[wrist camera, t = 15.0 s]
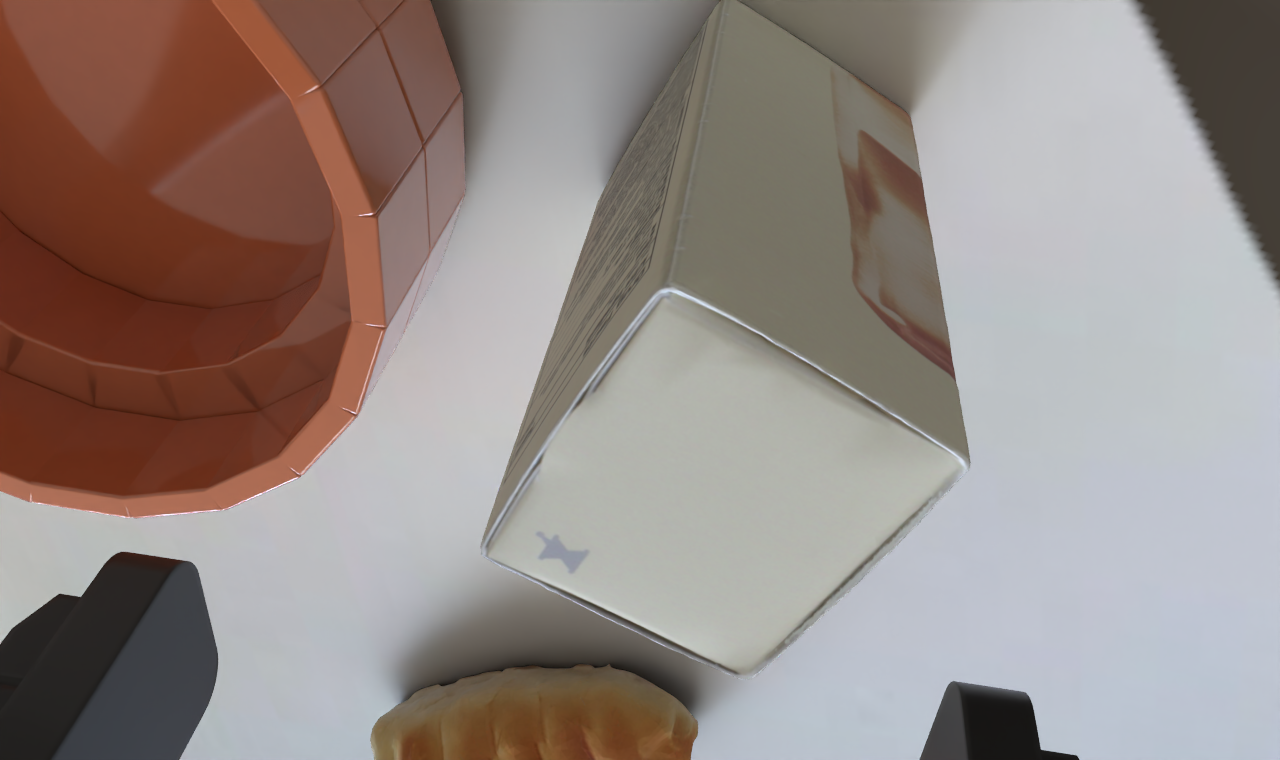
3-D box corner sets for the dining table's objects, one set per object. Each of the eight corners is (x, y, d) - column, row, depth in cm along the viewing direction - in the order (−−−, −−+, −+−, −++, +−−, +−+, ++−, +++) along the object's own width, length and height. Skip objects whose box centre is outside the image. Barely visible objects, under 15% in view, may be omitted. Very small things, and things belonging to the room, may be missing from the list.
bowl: (-56, 313, 27) (-229, 462, 23) (-296, -331, 19) (-636, -293, 15) (479, 392, 26) (405, 564, 22) (464, -252, 18) (343, -184, 14)
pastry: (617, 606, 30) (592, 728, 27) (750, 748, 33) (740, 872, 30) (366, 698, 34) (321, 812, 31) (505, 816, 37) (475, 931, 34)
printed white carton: (774, 305, 23) (737, 700, 15) (592, 199, 23) (454, 559, 15) (934, 108, 20) (993, 474, 12) (732, -24, 20) (654, 279, 12)
